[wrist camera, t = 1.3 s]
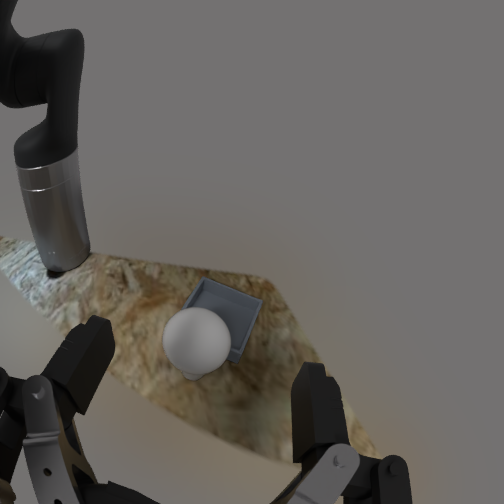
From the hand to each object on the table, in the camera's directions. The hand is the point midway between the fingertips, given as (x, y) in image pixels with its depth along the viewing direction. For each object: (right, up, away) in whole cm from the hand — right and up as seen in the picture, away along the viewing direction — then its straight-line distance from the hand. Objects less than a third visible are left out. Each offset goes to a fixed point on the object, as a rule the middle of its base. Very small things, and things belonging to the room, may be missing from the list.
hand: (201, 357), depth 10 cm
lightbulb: (-5, -10, +19) cm, 22 cm away
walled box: (-3, -5, +25) cm, 25 cm away
